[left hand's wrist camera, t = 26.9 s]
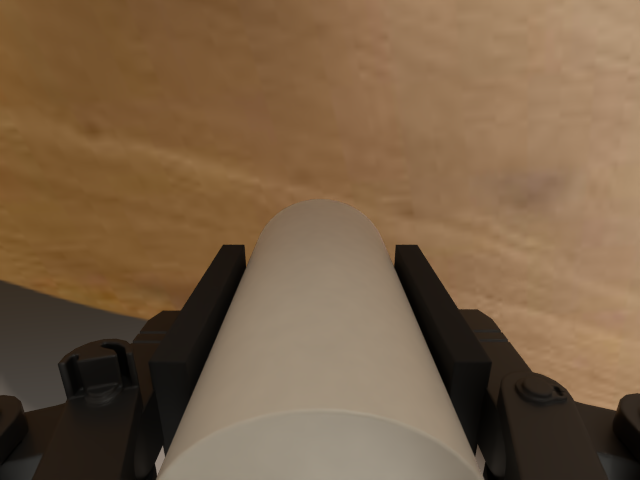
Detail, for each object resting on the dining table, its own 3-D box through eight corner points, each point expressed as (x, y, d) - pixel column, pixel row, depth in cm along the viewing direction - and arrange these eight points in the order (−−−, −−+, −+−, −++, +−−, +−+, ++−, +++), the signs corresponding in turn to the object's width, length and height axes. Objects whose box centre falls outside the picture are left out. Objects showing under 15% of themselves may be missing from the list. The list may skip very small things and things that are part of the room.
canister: (343, 338, 17) (375, 683, 7) (232, 284, 17) (92, 592, 6) (411, 238, 16) (576, 502, 6) (292, 173, 15) (234, 346, 5)
